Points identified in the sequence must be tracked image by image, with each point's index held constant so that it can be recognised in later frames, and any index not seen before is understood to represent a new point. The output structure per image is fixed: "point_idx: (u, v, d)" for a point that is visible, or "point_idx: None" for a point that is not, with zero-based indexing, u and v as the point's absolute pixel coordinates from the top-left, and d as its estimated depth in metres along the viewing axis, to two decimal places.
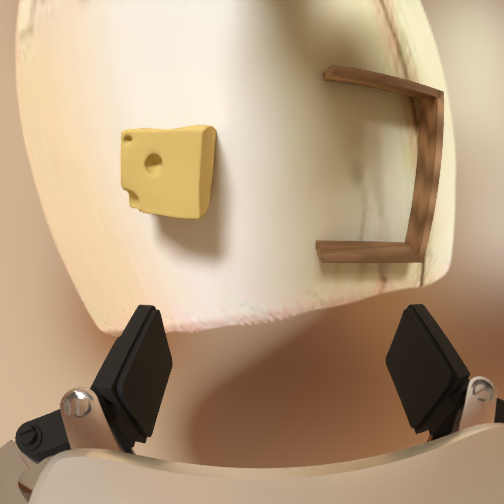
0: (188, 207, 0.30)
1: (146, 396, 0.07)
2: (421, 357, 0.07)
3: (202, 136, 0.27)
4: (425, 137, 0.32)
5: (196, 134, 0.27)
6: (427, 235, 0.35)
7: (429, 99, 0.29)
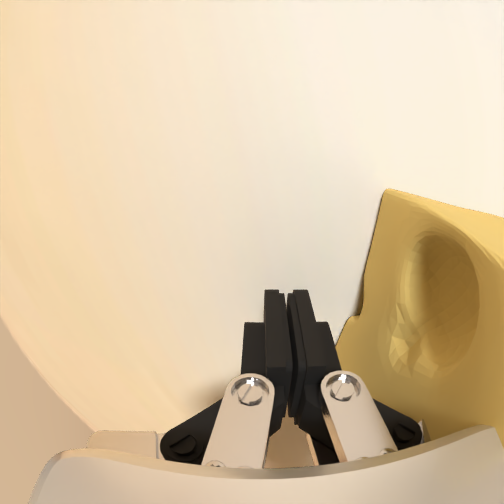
0: None
1: None
2: (291, 342, 0.09)
3: None
4: None
5: None
6: None
7: None
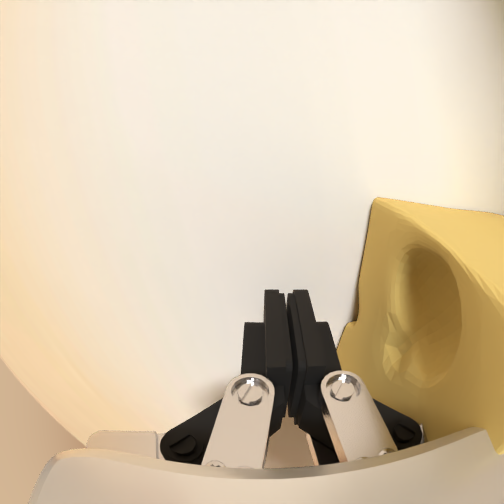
0: None
1: None
2: (291, 342, 0.09)
3: None
4: None
5: None
6: None
7: None
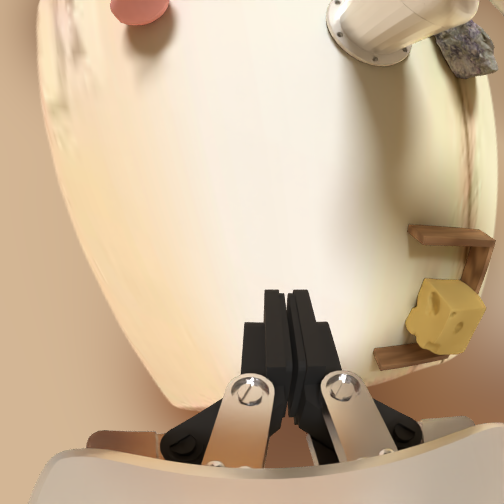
0: (462, 348, 0.36)
1: None
2: (291, 342, 0.09)
3: (484, 310, 0.33)
4: (470, 271, 0.38)
5: (483, 310, 0.32)
6: None
7: None
